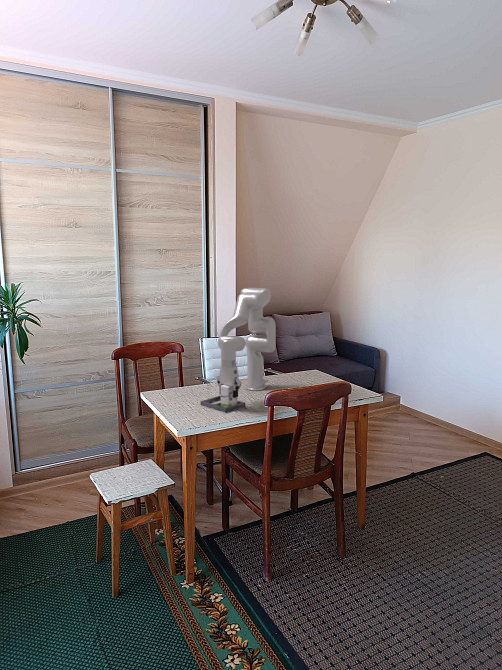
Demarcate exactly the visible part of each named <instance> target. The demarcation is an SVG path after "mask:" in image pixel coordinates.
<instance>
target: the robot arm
mask: <svg viewBox="0 0 502 670" xmlns="http://www.w3.org/2000/svg"><path fill="white" fill-rule="evenodd" d="M271 299H272V293H271V290H270V289H269V288H266V287H265V288H264V287H263V288H262V287H245V288H242V289H241V290H240V294H239V295H238V296H237V299H236V303H235V306H234V310H233V315H232V317H231V318H230V319H229V320H228V321H227V322H226V323H225V324H224V325H223V326H222V327H221V329H220V332H219V335H218V342H217V345H218V347H219V349H220V367H219V375H218V376H216V377H215V378H216V383H217V384H218V387H219V395H221V385H228V386H232V387H233V389H234V390H233V398H236V397H237V398H239V390H240V388H241V387H242V385H243V384H242V383H243V382H242V381H241V380H240V378H239V376H240V375H239V369H238V366H237V364H238V363H237V352H241V351H243V350H244V349H245V348H246V355H247V357H246V358H247V368H246V369H247V372H246V373H247V375H246V376H247V378H246V379H247V384H245V386H244V388H245V390H249V391H263V389H264V390H266V389H265V388H267V385H266V383H269V379H267V378H266V379H265V376H264V373H265V372H264V368H265V367H264V366H265V365H264V364H265V363H264V361H265V360H264V356H263V355H262V353H274V352H275V350H276V339H277V338H276V337H277V336H276V335H277V333H276V332H277V330H276V320H275V319H274V318H272V317H269V316H268V317H267V316H264V312H263V311H264V307H265V306H266V305H268V304H269V302H270V301H271ZM246 324H247V325H248V331H249V332H250V333H253V335H249V336H248V337H246V339H245V338H244V337H243V336H234V335H229V333H230V332H232V331H233V330H235V329H236V328H238V327H241V326H243V325H246ZM259 334H261V335H259ZM262 334H263V335H262ZM235 386H236V388H235Z"/></svg>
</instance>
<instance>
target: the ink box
mask: <svg viewBox="0 0 502 670" xmlns="http://www.w3.org/2000/svg"><path fill="white" fill-rule="evenodd" d="M235 388H236V386H235ZM233 390H234V389H233V387H232V386H228V385H221V394H220V396H221V400H220V402H221V407H224V408H228V407H231V406H234V405H237V401H238V397H236V398H233Z"/></svg>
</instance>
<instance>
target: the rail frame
mask: <svg viewBox="0 0 502 670" xmlns="http://www.w3.org/2000/svg"><path fill="white" fill-rule="evenodd" d="M217 401H220V402H218V403H214V402H217ZM213 403H214V404H213ZM200 406H202V407H206V408H208V409H212V410H216V411H219V412H222V413H225V414H227V413H229V412H233V411H235V410H239V409H242V408H244V407H246V402H244V401H241V400H237V405H234V406H231V407H228V408H224V407H221V395H218V396H217V395H216V396H215V397H210V398H207V399H203V400H200Z"/></svg>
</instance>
